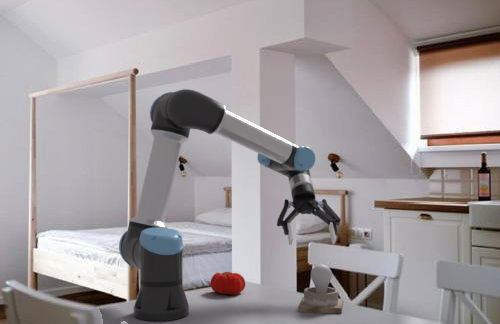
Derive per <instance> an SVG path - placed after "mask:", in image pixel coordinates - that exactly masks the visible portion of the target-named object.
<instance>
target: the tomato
mask: <svg viewBox="0 0 500 324" xmlns="http://www.w3.org/2000/svg"><path fill="white" fill-rule="evenodd" d="M209 283H210V288H211V291H214V292H215V293H218V294H221V295H229V296H235V295H238V294H240V293H242V292H243V291H244V289H245V287H246V280H245V278H244V277H243V275H241V273H238V272H231V271H224V272H223V271H222V272H215V274H213V276H211V279H210V282H209Z"/></svg>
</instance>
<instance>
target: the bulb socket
mask: <svg viewBox="0 0 500 324" xmlns="http://www.w3.org/2000/svg"><path fill="white" fill-rule="evenodd" d="M343 305H344V298H339V289H337V288H335V287H334V288H333V287H329V286H328V287H327V293H316V288H315V286H310V287H306V288H304V290H303V297H302V298H301V300H300V302H299V304H298V309H297V311H298V313H299V312H300V313H319V314H320V313H321V314H322V313H323V314H342V313H343Z"/></svg>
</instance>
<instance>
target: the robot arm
mask: <svg viewBox="0 0 500 324" xmlns="http://www.w3.org/2000/svg"><path fill="white" fill-rule="evenodd" d="M149 119H150V121H151V127H150V133H151V135H152V136H153V142H152V144H151V145H152V146H151V150H150V154H149V159H148V162H147V167H146V171H145V176H144V181H143V184H142V189H141V192H140V198H139V200H138V201H139V202H138V206H137V211H136V214H135V216H133V217H132V218H131V219H130V220H129V222H128V225H127V230H126V231H125V232H123V234H122V236H120V240H119V243H118V251H119V254H120V257H121V259H122V261H124V262H125V263H126V264H127V265H128V266H130V267H132V268H134V269H138V270H139V275H140V276H139V289H138V294H137V296H136V299H135V302H134V305H133V317H134V318H136V319H138V320H142V321H149V322H150V321H151V322H153V321H154V322H163V321H164V322H165V321H173V320H179V319H182V318H185V317H187V316H189V314H190V305H189V303H188V302H189V301H188V298H187V295H186V293H185V289H184V286H183V285H184V283H183V272H184V271H183V265H184V264H183V261H184V260H183V259H184V258H183V257H184V256H183V251H184V249H183V248H184V242H183V236H182V235H183V234H181V232H180V231H179V230H176V229H173V228H169V227H168V225H167V224H166V222H165V221H166V216H167V211H168V207H169V203H170V199H171V194H172V190H173V184H174V181H175V176H176V171H177V166H178V163H179V158H180V154H181V149H182V145H183V144H184V143H186V142H187V141H188V140H189V137H190V132H191V130H198V131H200V132H201V131H202V132H205V133H207V134H208V135H212V134H217V135H219V136H221V137H223V138H225V139H226V140H230V141H231V142H234V143H236V144H238V145H240V146H242V147H244V148H247V149H249V150H250V151H253V152H255V153H257V157H256V158H257V162H258V164H260V165H262V166H263V167H265V168H268V169H270V170H272V171H274V172H277V173H278V174H281V175H283V176H285V177H287V179H288V182H289V188H290V192H291V199H292V201H290V200H289V199H285V200H284V202H283V207H282V209H281V212H280V214H279V215H278V218H277V222H276V226H277V227H282V230H283V234H284V235H285V236H287V240H288V245H290V246H291V245H292V244H293V241H294V238H293V234H292V228H291V223H292V221H293V220H295V218H296V217H298V215H299V214H301V215H306V214H307V215H314V216H315V217H318V219H321V221H323V222H324V223H325V224H327V225H328V231H329V234H330V235H329V236H330V240H331V243H332V244H331V245H336V241H337V236H336V234H337V233H338V228H337V226H340V223H341V218H340V217H339V215H338V214H337V213H336V212H335V211H334V209H332V208H331V207H330V206H329V204H328V202H327V200H326V199H325V198H322V199H321V200H319V201H318V200H317V199H316V194H315V189H314V184H313V180H312V176H311V171H310V170H311V169H312V168H313V167H314V166H315V163H316V154H315V152H314V150H313V149H312V148H311V147H309V146H303V145H301V146H299V145H297V144H295V143H294V142H291V141H289V140H286V139H285V138H283V137H282V136H279V135H277V134H276V133H273V132H271V131H269V130H267V129H265V128H263V127H261V126H259V125H257V124H255V123H254V122H251V121H249V120H247V119H246V118H243V117H242V116H239V115H238V114H235V113H234V112H232V111H230V110H228V109H227V108H226V105H225V104H223V103H221V102H219V101H218V100H216V99H214V98H212V97H210V96H208V95H206V94H204V93H201V92H200V91H196V90H194V89H188V88H183V89H179V90H176V91H170V92H165V93H163V94H162V95H160V96H158V97H157V98H156V99H155V100H154V101H153V103H152V104H151V106H150V110H149ZM291 207H292V208H293V210H292V211H291V212H290V213H289V214H288V215H287V216H286V214H287V212H288V209H290V208H291ZM285 217H286V218H285ZM284 218H285V219H284Z"/></svg>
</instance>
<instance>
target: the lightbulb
mask: <svg viewBox="0 0 500 324" xmlns="http://www.w3.org/2000/svg"><path fill="white" fill-rule="evenodd" d="M332 277H333V273H332V270H331V269H330V267H329V266H327V265H325V264H319V263H318V264H317V265H315V266H314V267H312V269H311V272H310V279H311V280H312V283H313V285H314V287H315V288H316V293H327V287H329V284H330V282H331V280H332Z"/></svg>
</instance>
